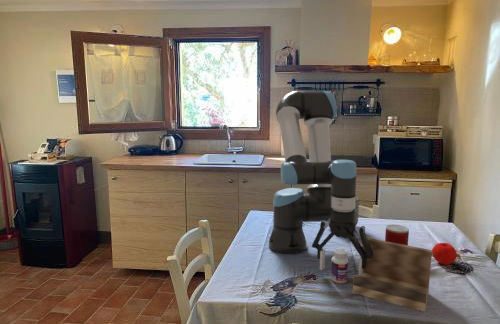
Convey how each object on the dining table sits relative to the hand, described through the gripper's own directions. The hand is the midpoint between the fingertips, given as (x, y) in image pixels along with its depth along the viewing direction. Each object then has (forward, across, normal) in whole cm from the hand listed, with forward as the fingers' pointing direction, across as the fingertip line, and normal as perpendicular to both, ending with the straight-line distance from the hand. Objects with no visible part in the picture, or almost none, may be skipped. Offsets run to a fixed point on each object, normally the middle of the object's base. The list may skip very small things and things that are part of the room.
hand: (341, 272), depth 115 cm
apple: (+3, +28, +31) cm, 42 cm away
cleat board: (+3, +15, 0) cm, 16 cm away
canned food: (+3, +12, +29) cm, 32 cm away
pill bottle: (+3, -1, 0) cm, 3 cm away
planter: (+2, -13, +47) cm, 49 cm away
